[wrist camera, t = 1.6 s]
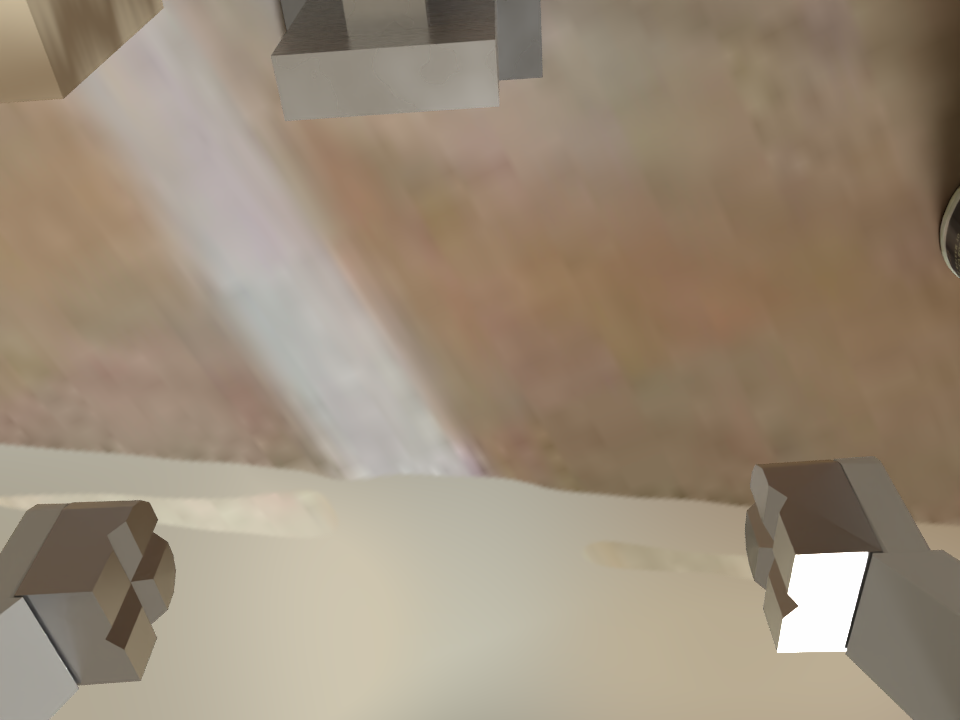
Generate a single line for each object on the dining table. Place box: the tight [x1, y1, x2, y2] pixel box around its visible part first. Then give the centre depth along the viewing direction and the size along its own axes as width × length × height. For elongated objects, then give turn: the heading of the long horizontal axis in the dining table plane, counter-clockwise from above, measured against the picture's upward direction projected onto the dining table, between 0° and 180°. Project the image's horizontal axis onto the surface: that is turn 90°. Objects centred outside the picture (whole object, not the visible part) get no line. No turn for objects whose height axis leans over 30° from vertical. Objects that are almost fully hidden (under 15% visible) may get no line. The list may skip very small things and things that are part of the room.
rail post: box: [0, 0, 164, 103], centre depth 35 cm, size 4×4×12 cm
